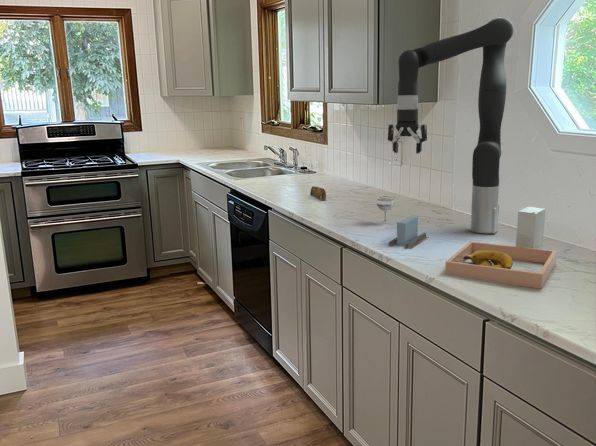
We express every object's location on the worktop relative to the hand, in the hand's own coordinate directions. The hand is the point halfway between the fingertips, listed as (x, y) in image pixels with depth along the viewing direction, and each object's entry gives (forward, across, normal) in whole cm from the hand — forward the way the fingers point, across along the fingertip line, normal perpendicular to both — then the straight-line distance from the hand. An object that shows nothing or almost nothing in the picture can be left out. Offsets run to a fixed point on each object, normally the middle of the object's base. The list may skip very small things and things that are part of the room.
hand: (406, 153), depth 210 cm
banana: (+30, -38, +35) cm, 60 cm away
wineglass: (+30, +10, -4) cm, 32 cm away
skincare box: (+30, -46, +11) cm, 56 cm away
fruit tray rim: (+30, -42, +31) cm, 60 cm away
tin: (+30, +59, -37) cm, 76 cm away
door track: (+30, -7, +16) cm, 35 cm away
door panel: (+29, -7, +17) cm, 34 cm away
